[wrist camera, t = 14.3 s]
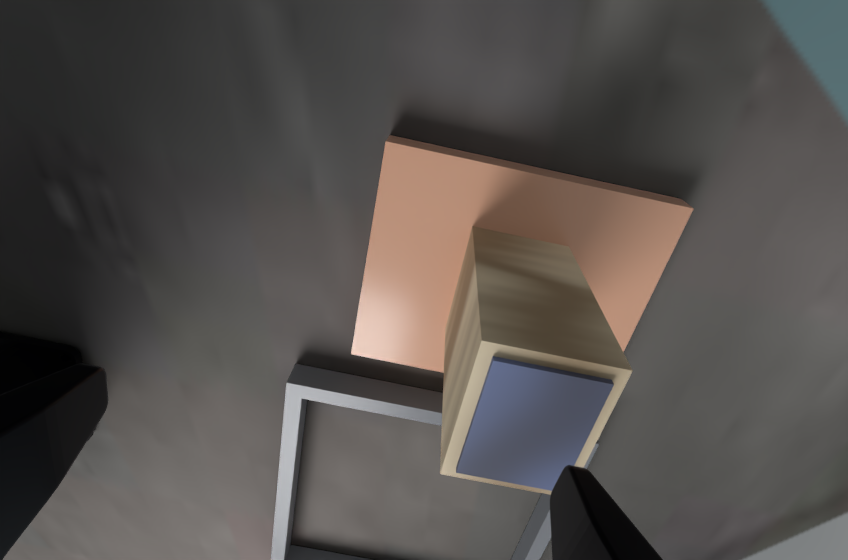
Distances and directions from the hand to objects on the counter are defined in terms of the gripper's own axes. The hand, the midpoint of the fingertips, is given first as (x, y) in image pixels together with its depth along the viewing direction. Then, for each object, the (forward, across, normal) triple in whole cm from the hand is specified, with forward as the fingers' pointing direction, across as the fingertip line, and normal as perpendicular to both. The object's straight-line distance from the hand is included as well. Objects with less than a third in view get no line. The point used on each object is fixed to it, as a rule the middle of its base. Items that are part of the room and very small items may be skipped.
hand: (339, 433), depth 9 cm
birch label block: (+11, -5, +2) cm, 13 cm away
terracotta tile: (+13, -5, +2) cm, 14 cm away
